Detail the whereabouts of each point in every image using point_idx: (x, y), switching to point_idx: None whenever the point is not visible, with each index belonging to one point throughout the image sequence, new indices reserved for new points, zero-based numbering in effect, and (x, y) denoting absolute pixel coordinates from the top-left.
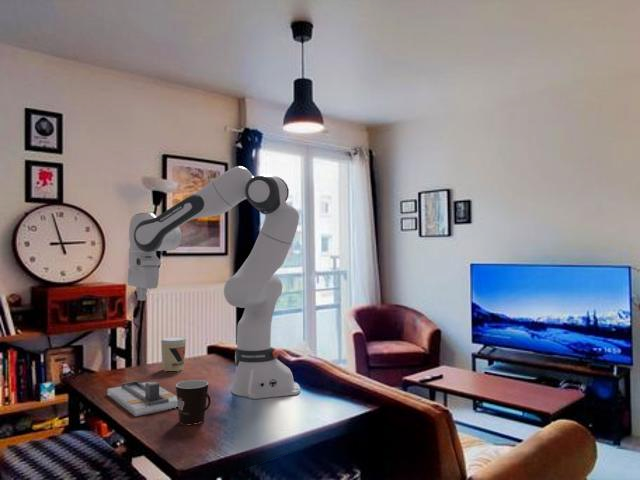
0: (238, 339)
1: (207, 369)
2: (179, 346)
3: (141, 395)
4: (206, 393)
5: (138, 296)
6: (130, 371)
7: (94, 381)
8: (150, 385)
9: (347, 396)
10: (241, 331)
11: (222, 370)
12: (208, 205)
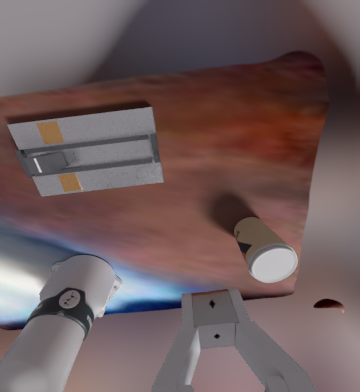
0: (35, 334)
1: (218, 264)
2: (246, 261)
3: (65, 147)
4: None
5: (229, 312)
6: (284, 174)
7: (259, 102)
8: (24, 159)
9: None
10: (10, 356)
11: (201, 275)
12: None
